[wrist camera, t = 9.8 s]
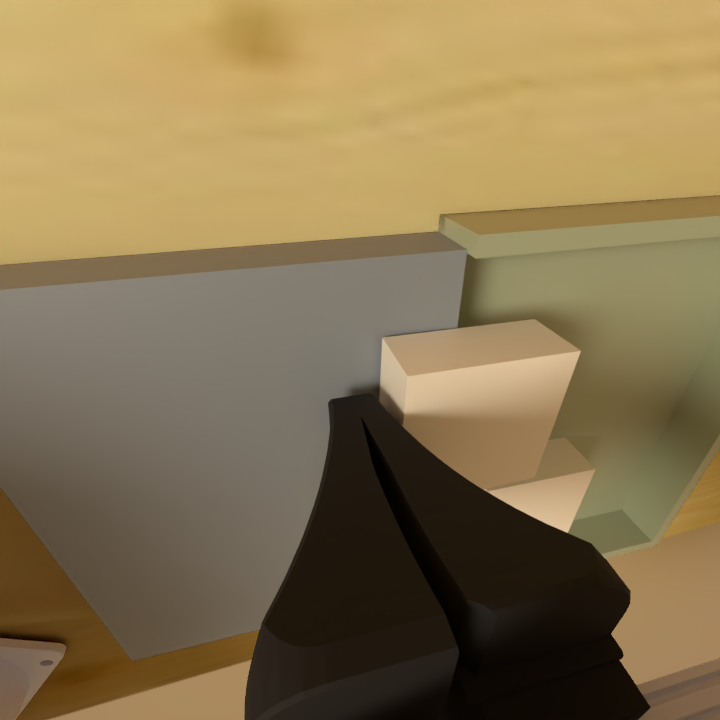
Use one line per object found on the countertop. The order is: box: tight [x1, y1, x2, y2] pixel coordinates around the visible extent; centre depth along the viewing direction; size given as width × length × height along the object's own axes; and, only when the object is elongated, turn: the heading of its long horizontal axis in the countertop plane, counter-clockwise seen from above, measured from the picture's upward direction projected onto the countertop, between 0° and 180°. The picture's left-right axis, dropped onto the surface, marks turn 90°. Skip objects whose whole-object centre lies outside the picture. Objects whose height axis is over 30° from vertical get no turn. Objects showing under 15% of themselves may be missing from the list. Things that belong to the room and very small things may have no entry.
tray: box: [439, 196, 720, 559], centre depth 17 cm, size 14×18×2 cm
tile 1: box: [379, 319, 581, 489], centre depth 12 cm, size 5×5×2 cm
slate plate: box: [0, 232, 467, 661], centre depth 15 cm, size 14×17×2 cm
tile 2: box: [483, 437, 596, 533], centre depth 18 cm, size 5×5×2 cm
